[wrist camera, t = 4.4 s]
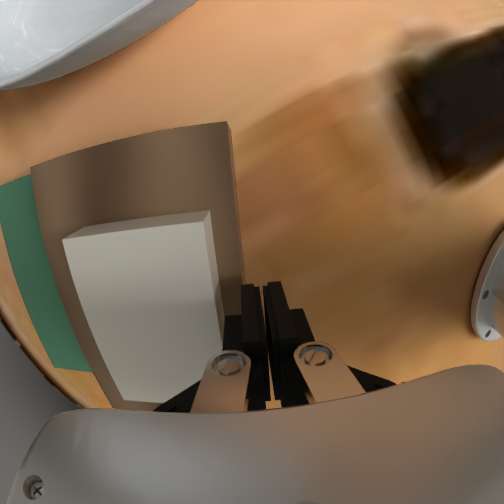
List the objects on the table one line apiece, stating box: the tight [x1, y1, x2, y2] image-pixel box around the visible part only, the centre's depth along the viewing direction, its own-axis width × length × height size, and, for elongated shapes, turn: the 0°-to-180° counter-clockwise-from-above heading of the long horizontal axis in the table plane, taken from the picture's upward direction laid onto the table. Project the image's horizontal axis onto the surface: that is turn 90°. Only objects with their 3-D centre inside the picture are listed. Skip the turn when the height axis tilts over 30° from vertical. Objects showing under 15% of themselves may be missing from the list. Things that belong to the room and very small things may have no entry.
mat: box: [0, 174, 92, 372], centre depth 16 cm, size 8×16×1 cm, turn 5°
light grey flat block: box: [62, 210, 225, 403], centre depth 12 cm, size 6×9×2 cm, turn 5°
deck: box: [30, 121, 245, 412], centre depth 15 cm, size 10×16×4 cm, turn 5°
